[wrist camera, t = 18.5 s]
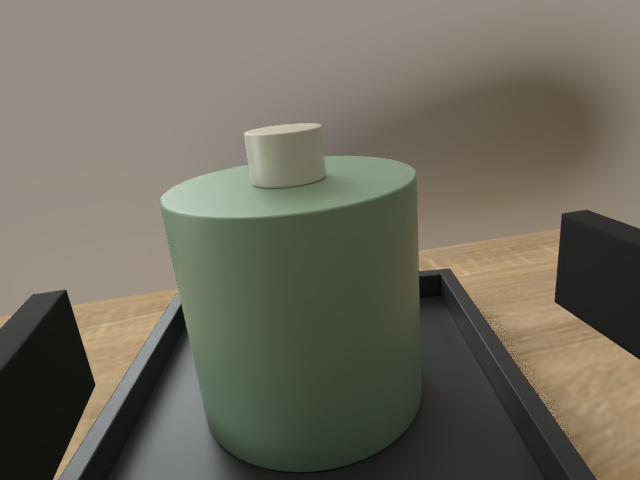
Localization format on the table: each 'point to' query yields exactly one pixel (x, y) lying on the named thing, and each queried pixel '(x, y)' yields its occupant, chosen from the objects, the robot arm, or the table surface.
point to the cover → (301, 299)
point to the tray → (373, 472)
